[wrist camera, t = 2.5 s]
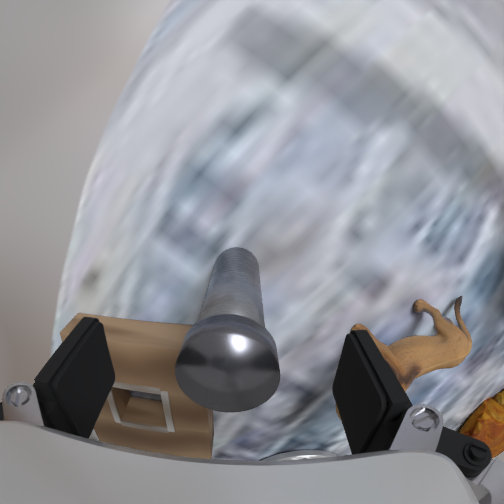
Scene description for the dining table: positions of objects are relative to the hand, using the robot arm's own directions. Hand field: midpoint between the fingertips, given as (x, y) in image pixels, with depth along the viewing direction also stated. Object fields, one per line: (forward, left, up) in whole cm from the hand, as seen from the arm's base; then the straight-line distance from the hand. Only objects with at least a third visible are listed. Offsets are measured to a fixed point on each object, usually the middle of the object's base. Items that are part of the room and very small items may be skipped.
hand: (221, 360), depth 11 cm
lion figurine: (-6, -14, -12) cm, 20 cm away
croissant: (-25, -39, -12) cm, 48 cm away
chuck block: (-13, +8, -12) cm, 19 cm away
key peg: (-1, 0, -12) cm, 12 cm away
